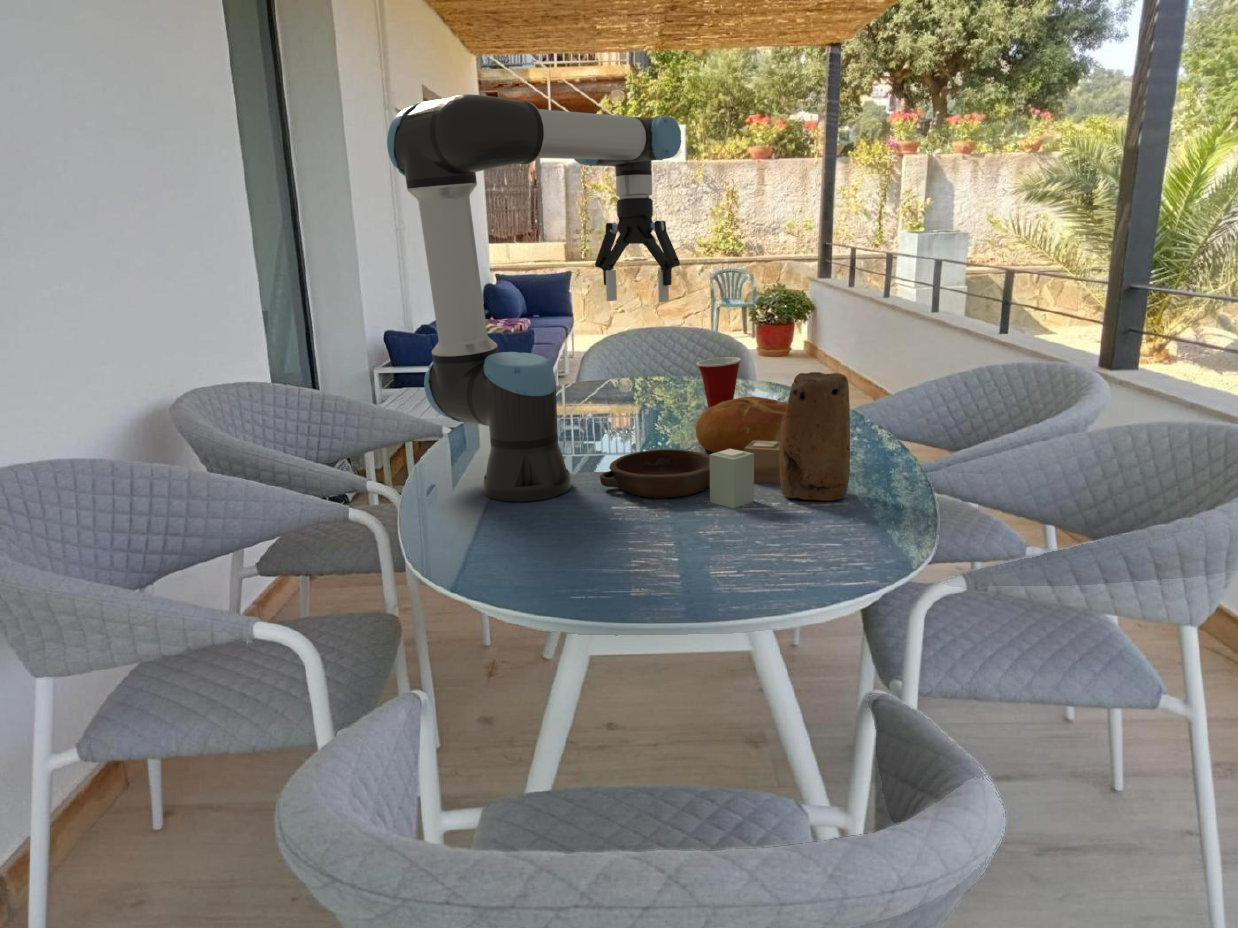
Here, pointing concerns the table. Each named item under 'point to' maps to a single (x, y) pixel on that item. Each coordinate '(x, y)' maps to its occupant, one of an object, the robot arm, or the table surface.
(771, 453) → the walnut cube
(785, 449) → the brown pitted rock
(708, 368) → the plastic cup
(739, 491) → the grey-green post
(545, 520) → the table surface
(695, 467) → the dish
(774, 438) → the bread
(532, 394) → the robot arm
